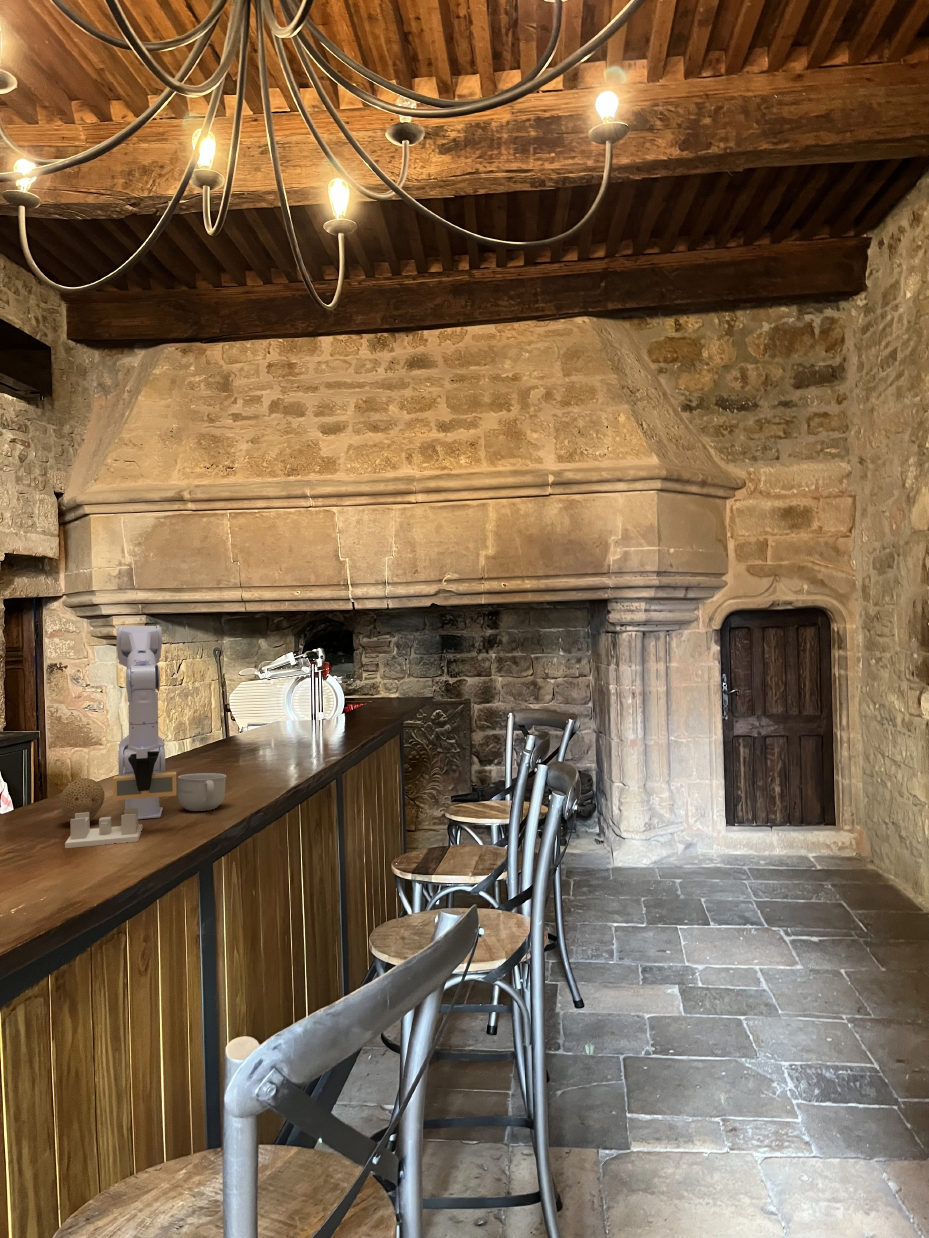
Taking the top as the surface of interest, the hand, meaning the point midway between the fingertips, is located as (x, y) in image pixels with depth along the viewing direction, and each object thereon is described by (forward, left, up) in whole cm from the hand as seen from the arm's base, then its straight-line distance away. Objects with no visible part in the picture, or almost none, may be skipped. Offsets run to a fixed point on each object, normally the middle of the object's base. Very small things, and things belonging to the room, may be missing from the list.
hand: (144, 788), depth 165 cm
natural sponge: (-14, -14, -9) cm, 21 cm away
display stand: (+2, -7, -9) cm, 12 cm away
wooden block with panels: (0, 0, -2) cm, 2 cm away
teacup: (-18, +11, -9) cm, 23 cm away
